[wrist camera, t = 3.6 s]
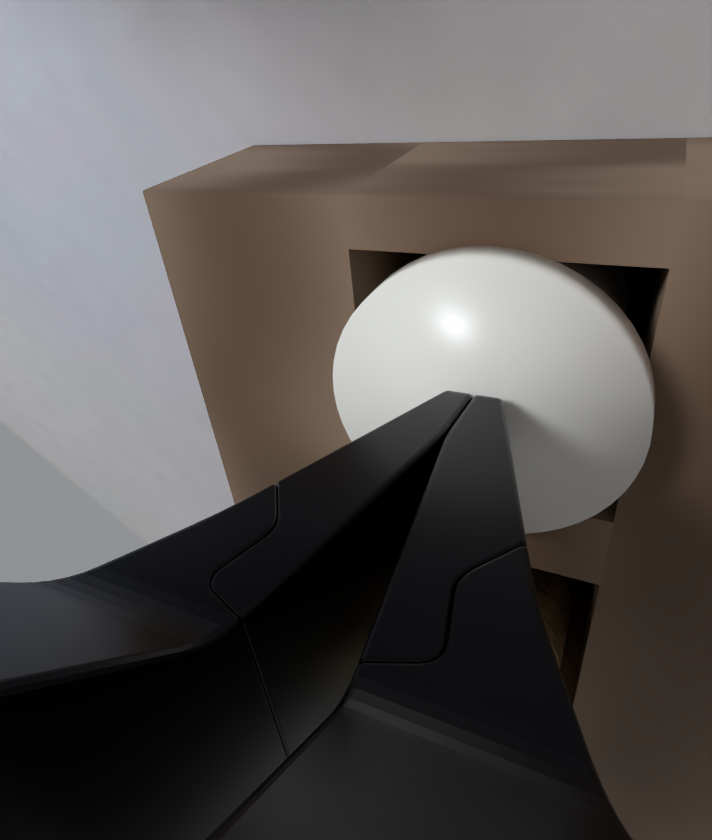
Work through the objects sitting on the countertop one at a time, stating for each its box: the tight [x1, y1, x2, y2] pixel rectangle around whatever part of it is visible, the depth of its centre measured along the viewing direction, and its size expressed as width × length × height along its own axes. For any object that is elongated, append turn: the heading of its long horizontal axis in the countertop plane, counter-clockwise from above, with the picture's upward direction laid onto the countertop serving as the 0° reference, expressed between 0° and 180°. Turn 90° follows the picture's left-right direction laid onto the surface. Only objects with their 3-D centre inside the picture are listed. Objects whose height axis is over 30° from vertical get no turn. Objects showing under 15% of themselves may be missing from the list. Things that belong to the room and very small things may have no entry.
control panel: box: [143, 138, 712, 840], centre depth 14 cm, size 12×18×4 cm, turn 6°
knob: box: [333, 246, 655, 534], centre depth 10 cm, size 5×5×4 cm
